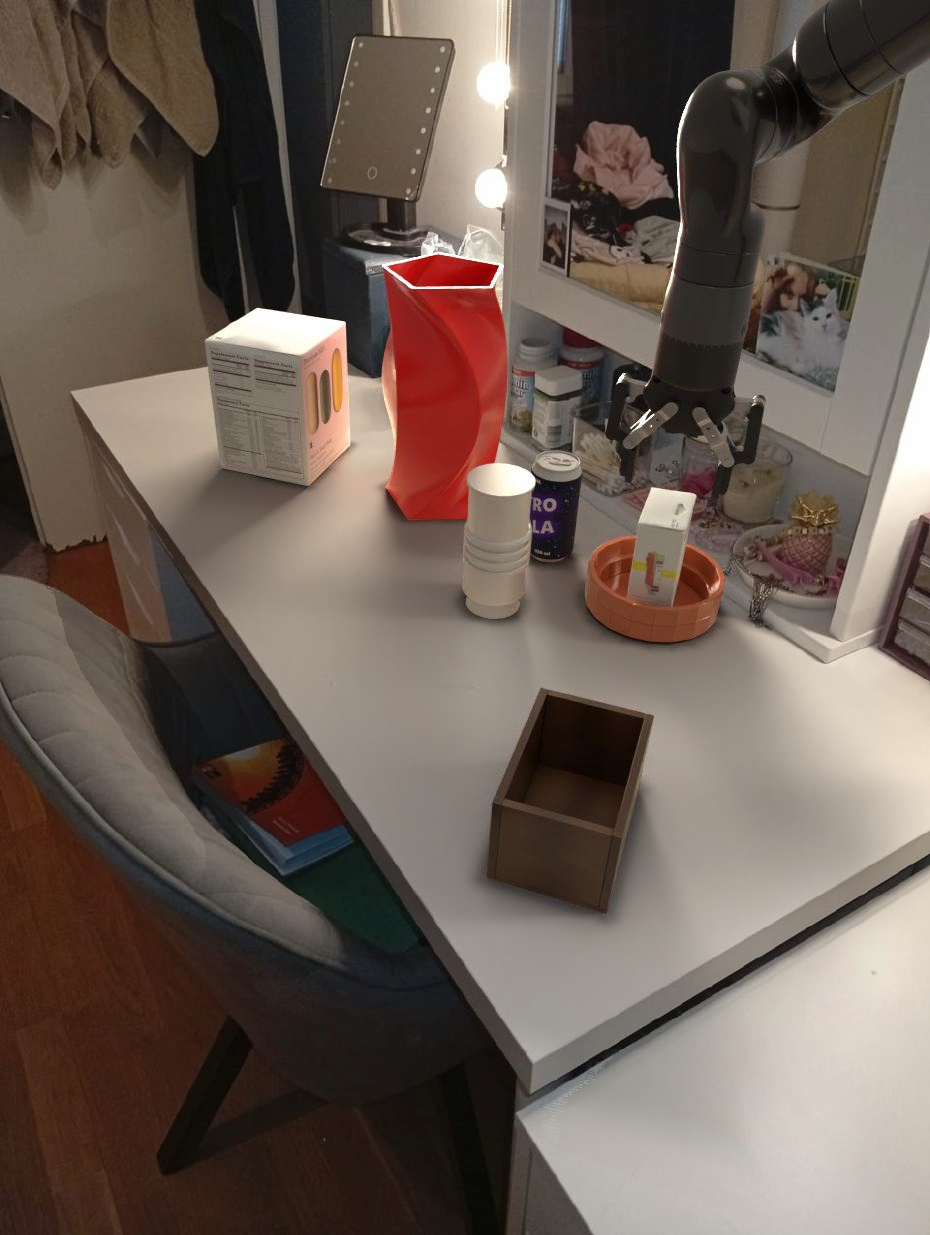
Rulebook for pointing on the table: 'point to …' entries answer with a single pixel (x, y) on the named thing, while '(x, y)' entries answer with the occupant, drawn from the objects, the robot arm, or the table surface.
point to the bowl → (649, 622)
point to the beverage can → (554, 504)
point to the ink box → (660, 547)
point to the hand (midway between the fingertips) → (671, 487)
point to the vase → (442, 379)
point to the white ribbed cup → (497, 539)
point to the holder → (568, 799)
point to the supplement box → (280, 394)
